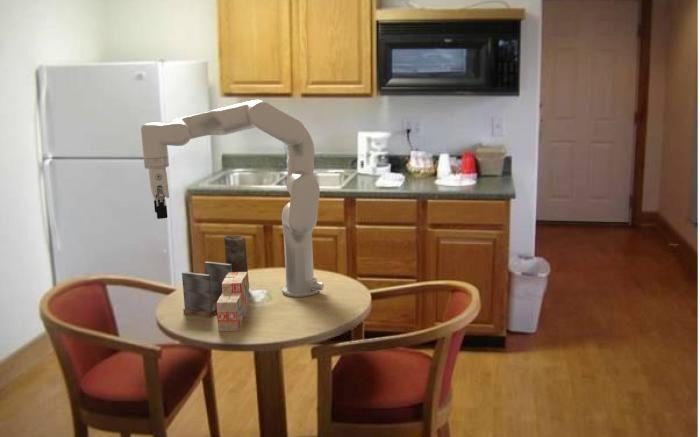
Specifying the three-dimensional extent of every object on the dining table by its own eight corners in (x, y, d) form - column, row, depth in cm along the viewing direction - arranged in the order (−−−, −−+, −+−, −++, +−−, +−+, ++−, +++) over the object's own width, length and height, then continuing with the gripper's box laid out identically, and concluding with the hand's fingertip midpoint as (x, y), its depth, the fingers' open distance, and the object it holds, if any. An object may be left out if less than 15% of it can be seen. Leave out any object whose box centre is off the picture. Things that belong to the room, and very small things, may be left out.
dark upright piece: (228, 289, 269) (224, 234, 264) (249, 288, 270) (245, 233, 265) (227, 296, 262) (223, 239, 257) (249, 295, 262) (245, 238, 258)
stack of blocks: (238, 331, 230) (236, 292, 227) (217, 331, 230) (215, 292, 227) (250, 307, 251) (247, 271, 248) (231, 307, 251) (228, 271, 248)
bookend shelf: (235, 302, 255) (233, 263, 252) (209, 317, 242) (206, 276, 239) (210, 299, 259) (207, 260, 256) (183, 313, 246) (180, 273, 243)
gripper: (170, 165, 236) (175, 219, 240) (166, 157, 252) (170, 208, 256) (145, 167, 233) (150, 222, 237) (142, 159, 250) (147, 210, 253)
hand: (161, 215), depth 246 cm, fingers open, 9 cm apart
